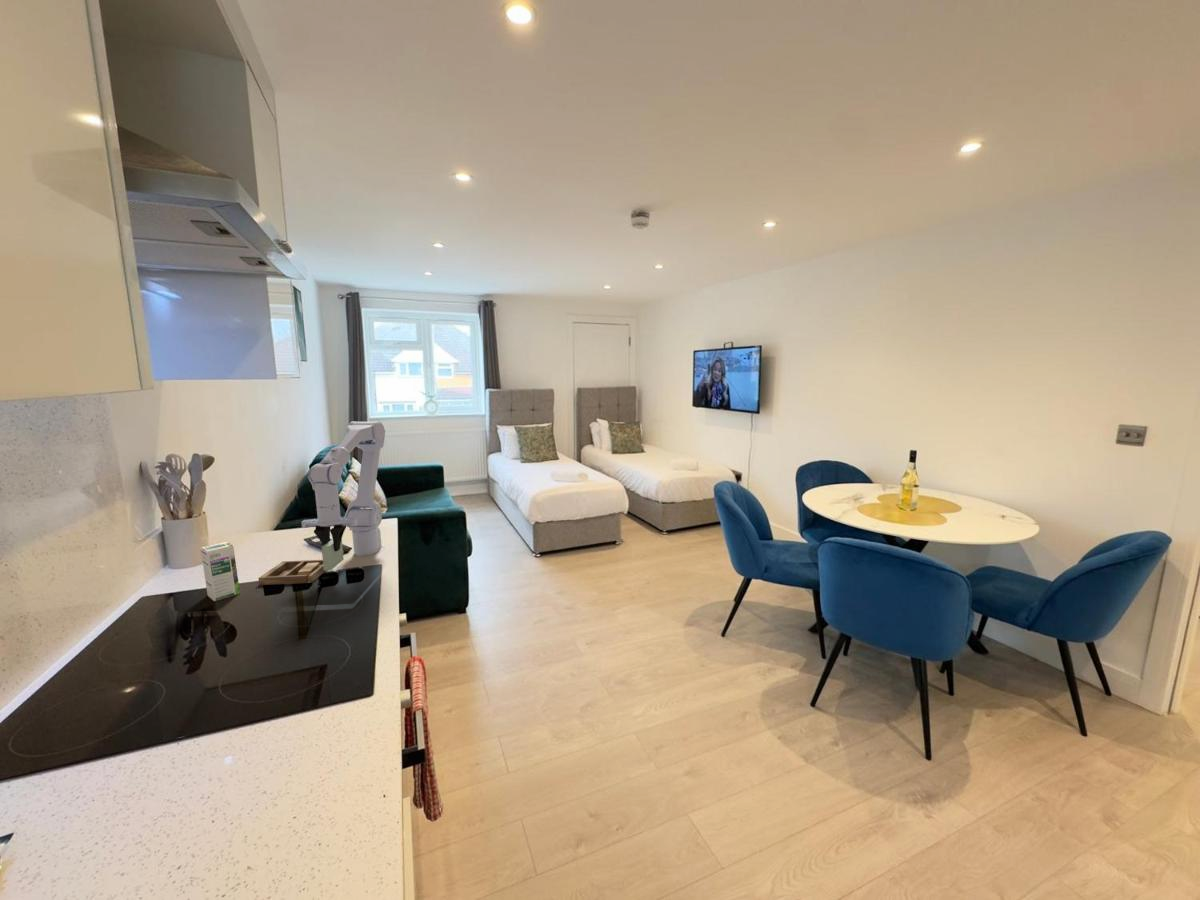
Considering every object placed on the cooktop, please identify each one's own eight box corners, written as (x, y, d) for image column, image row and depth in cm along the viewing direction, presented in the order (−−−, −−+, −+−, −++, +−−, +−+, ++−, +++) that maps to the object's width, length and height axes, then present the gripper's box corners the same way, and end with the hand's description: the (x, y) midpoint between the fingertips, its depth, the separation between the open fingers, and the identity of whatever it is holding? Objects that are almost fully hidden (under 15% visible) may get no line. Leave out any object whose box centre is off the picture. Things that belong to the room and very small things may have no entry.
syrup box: (214, 605, 122) (206, 551, 120) (207, 598, 126) (199, 546, 123) (240, 596, 127) (233, 545, 124) (233, 590, 130) (226, 540, 128)
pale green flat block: (336, 559, 142) (334, 537, 141) (343, 559, 143) (341, 537, 141) (323, 570, 134) (321, 546, 133) (331, 570, 135) (328, 546, 134)
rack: (283, 570, 143) (282, 561, 143) (332, 568, 145) (331, 559, 144) (259, 588, 132) (258, 578, 131) (312, 585, 133) (311, 575, 132)
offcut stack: (310, 569, 142) (309, 562, 141) (322, 569, 142) (322, 561, 142) (297, 579, 134) (296, 571, 134) (310, 579, 135) (309, 571, 134)
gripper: (293, 509, 131) (299, 556, 133) (348, 508, 132) (352, 554, 135) (306, 503, 138) (311, 547, 140) (358, 501, 139) (362, 545, 141)
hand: (332, 550), depth 138 cm, fingers closed on pale green flat block, 2 cm apart
